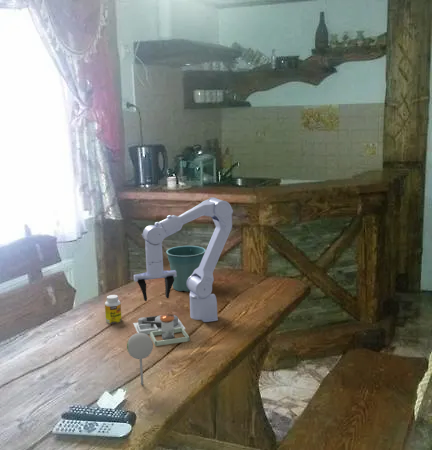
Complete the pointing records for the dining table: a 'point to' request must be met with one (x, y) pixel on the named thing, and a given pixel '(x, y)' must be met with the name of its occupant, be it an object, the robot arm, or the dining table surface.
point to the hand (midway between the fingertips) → (156, 298)
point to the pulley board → (153, 324)
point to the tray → (169, 341)
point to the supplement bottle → (113, 309)
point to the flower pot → (184, 264)
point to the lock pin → (167, 326)
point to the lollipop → (140, 348)
